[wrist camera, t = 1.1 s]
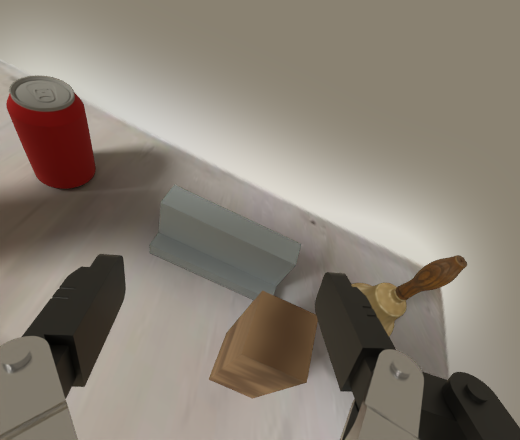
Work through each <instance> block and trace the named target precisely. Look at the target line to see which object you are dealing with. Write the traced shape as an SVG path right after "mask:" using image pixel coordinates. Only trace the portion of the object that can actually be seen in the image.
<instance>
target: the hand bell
mask: <svg viewBox="0 0 520 440" xmlns="http://www.w3.org/2000/svg"><path fill="white" fill-rule="evenodd" d="M466 266H467V262H466V261H465V259H464V258H463V257H461V256H454V257H450V258H445V259H439V260H436V261H433V262H431V263H429V264H428V265H426V266H425V267H423V268H422V269H421V270H420V271H419V272H418V273H417V274H416V275H415V277H414V278H413V279H412V280H410V281H409V282H407V283H405V284H403V285H401V286H398V287H396V286H394V285H392V284H390V283H381V284H378V285H376V286H371V285H368V284H364V283H354V284H351V285H352V287H357V288H358V289H359V290H360V291H361V292H362V293H363V294H364V295H366V297H367V298H368V300H369V302H370V304H371V306H372V309H374V311H375V313H376V315H377V318H379V320H380V322H381V324H382V325H383V327H384V329H385V331H386V333H387V334H388V336H390V335H391V333H392V331H393V328H394V321H395V320H396V319H397V318H399V317H400V316H402V315H403V314H404V313H405V311H406V300H407V299H408V298H410V297H412V296H413V295H415V294H417V293H419V292H421V291H427V290H433V289H437V288H440V287H442V286H444V285H446V284H448V283H450V282H451V281H453V280H454V279H455V278H456V277H457V276H458V274H459V273H460V272H461V271H462V270H463V269H464V268H465V267H466Z"/></svg>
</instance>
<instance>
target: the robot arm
mask: <svg viewBox="0 0 520 440" xmlns="http://www.w3.org/2000/svg"><path fill="white" fill-rule="evenodd" d="M125 288H126V287H125V274H124V262H123V257H122V256H120V255H107V254H99V255H98V256H97V257H96V259H95V260H94V262H93V263H92V265H91V266H90V267H80V268H79V269H77V270H76V271H74V272H73V273H71V274H70V275H69V276H68V277H67V278H66V279H65V281H64V282H63V283H62V285H61V286H60V288H59V289H58V290H57V291H56V292H55V294H54V295H53V298H52V299H50V300H49V302H48V303H47V304H46V306H45V307H44V308H43V310H42V311H41V312H40V313H39V315H38V316H37V317H36V319H35V320H34V321H33V323H32V324H31V325H30V327H29V328H28V329H27V331H26V332H25V333H24V335H23V336H22V337H20V338H17V339H13V340H11V341H9V342H7V343H5V344H3V345H1V346H0V440H78V439H77V435H76V432H75V429H74V425H73V422H72V419H71V415H70V412H69V409H68V406H67V403H66V400H65V399H66V397H67V395H68V393H69V391H70V389H71V387H72V386H76V387H85V385H86V382H87V380H88V378H89V376H90V374H91V371H92V369H93V367H94V365H95V363H96V360H97V358H98V356H99V354H100V352H101V349H102V347H103V345H104V343H105V341H106V338H107V336H108V334H109V332H110V329H111V327H112V325H113V323H114V321H115V318H116V316H117V314H118V312H119V310H120V307H121V305H122V303H123V300H124V296H125ZM315 312H316V316H317V319H318V322H319V325H320V328H321V332H322V335H323V338H324V341H325V344H326V347H327V350H328V353H329V356H330V360H331V363H332V366H333V369H334V372H335V375H336V378H337V381H338V385H339V388H340V391H352V392H353V395H354V398H355V399H354V401H353V403H352V405H351V408H350V411H349V414H348V417H347V420H346V423H345V426H344V429H343V432H342V435H341V438H340V440H520V428H519V426H518V425H517V424H516V422H515V421H514V419H513V418H512V417H511V415H510V414H509V413H508V411H507V410H506V409H505V407H504V406H503V404H502V403H501V402H500V400H499V399H498V397H497V396H496V395H495V394H494V392H493V391H492V390H491V389H490V388H489V387H488V386H487V385H486V384H485V383H483V382H482V381H481V380H479V379H478V378H476V377H474V376H472V375H470V374H467V373H463V372H456V373H453V374H452V375H451V377H450V378H449V379H448V380H445V379H442V378H439V377H436V376H433V375H430V374H427V373H424V372H422V371H421V369H420V368H419V366H418V365H417V364H416V363H415V362H414V361H413V360H412V359H411V358H410V357H408V356H407V355H405V354H404V353H402V352H399V351H397V350H396V349H395V347H394V345H393V343H392V342H391V340H390V338H389V336H388V334H387V333H386V331H385V329H384V327H383V325H382V324H381V322H380V320H379V318H377V315H376V313H375V311H374V309H372V306H371V304H370V302H369V300H368V298H367V297H366V295H364V294H363V293H362V292H361V291H360V290H359V289H358V288H357V287H352V285H351V283H350V281H349V279H348V277H347V276H346V275H345V274H342V273H329V272H327V273H325V275H324V277H323V280H322V283H321V286H320V289H319V292H318V295H317V298H316V302H315Z"/></svg>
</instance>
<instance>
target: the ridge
mask: <svg viewBox="0 0 520 440" xmlns="http://www.w3.org/2000/svg"><path fill="white" fill-rule="evenodd" d="M300 247H301V244H300V243H298V242H296V241H294V240H292V239H289V238H287V237H285V236H283V235H281V234H279V233H277V232H275V231H272V230H270V229H268V228H266V227H264V226H262V225H260V224H257V223H255V222H253V221H251V220H249V219H247V218H245V217H243V216H240V215H238V214H236V213H234V212H232V211H230V210H228V209H226V208H223V207H221V206H219V205H217V204H215V203H213V202H211V201H208V200H206V199H204V198H202V197H200V196H198V195H196V194H194V193H191V192H189V191H187V190H185V189H183V188H181V187H179V186H176V185H174V186H173V187H172V188H171V190H170V191H169V192H168V193H167V195H166V196H165V197H164V199H163V200H162V201H161V204H160V219H159V232H158V234H157V235H156V237H155V238H154V239H153V241H152V242H151V244H150V251H149V253H151V254H153V255H156V256H158V257H160V258H162V259H164V260H167V261H169V262H171V263H173V264H175V265H178V266H180V267H182V268H184V269H186V270H189V271H191V272H193V273H195V274H197V275H200V276H202V277H204V278H206V279H208V280H211V281H213V282H215V283H217V284H220V285H222V286H224V287H226V288H228V289H231V290H233V291H235V292H237V293H239V294H242V295H244V296H246V297H248V298H250V299H253V300H255V299H256V298H257V296H258V295H259V294H260V293H261V292H262V290H263V291H265V292H267V293H269V294H272V295H274V292H275V289H276V286H277V285H278V284H279V283H280V282H281V281H282V279H283V278H284V277H285V276H286V275H287V274H288V273H289V272H290V271H291V270H292V269H293V267H294V266H295V265H296V262H297V258H298V255H299V251H300Z"/></svg>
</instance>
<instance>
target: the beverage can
mask: <svg viewBox="0 0 520 440" xmlns="http://www.w3.org/2000/svg"><path fill="white" fill-rule="evenodd" d="M9 92H10V94H9V97H8V100H7V110H8V112H9V114H10V117H11V119H12V122H13V124H14V127H15V129H16V131H17V134H18V136H19V138H20V141H21V143H22V145H23V148H24V150H25V152H26V155H27V157H28V159H29V161H30V164H31V166H32V168H33V170H34V172H35V175H36V177H37V178H38V179H39V180H40V181H41V182H42V183H44V184H46V185H48V186H51V187H54V188H62V189H67V188H74V187H78V186H81V185H83V184H85V183H87V182H88V181H89V180H91V178H92V177H93V176H94V174H95V162H94V156H93V150H92V144H91V139H90V134H89V128H88V123H87V118H86V113H85V108H84V104H83V102H82V101H81V99H80V98H79V97H78V96H77V95H76V94H75V93H74V91H73V89H72V88H71V87H70V85H68V84H67V83H65V82H64V81H62V80H59V79H56V78H53V77H48V76H28V77H23V78H20V79H18V80H16V81H15V82H13V83H12V84H11V86H10V89H9Z"/></svg>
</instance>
